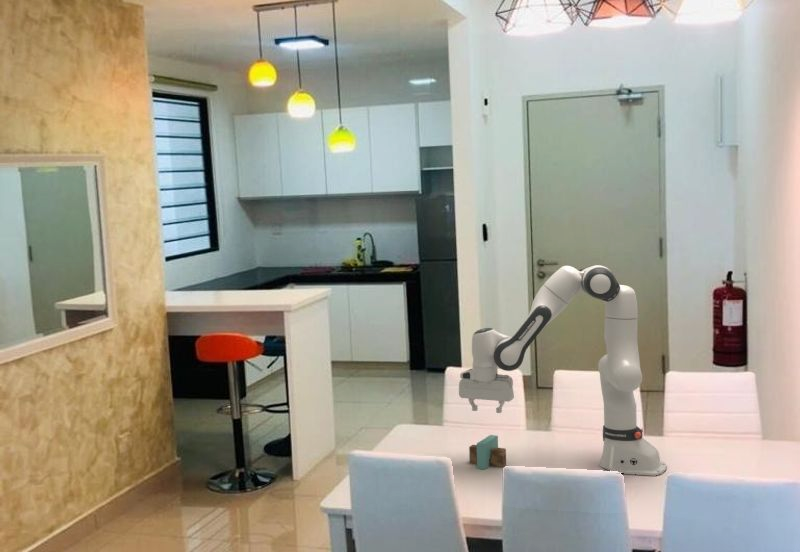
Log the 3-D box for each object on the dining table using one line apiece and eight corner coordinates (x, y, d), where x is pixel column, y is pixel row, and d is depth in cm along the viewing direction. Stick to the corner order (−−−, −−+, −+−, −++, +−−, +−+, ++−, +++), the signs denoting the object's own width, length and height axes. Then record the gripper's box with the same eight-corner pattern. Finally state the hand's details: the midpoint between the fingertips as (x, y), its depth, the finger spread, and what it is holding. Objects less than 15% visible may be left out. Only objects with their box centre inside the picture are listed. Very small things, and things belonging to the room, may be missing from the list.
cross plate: (490, 458, 314) (490, 434, 313) (498, 459, 313) (497, 435, 312) (477, 468, 304) (476, 443, 303) (485, 469, 302) (484, 444, 301)
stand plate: (506, 464, 306) (505, 448, 306) (503, 467, 304) (502, 450, 303) (473, 460, 313) (472, 444, 312) (469, 462, 310) (469, 446, 310)
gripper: (515, 373, 303) (517, 411, 304) (463, 370, 313) (465, 407, 314) (508, 377, 297) (510, 416, 299) (456, 373, 307) (457, 411, 309)
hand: (486, 411), depth 306 cm, fingers open, 8 cm apart
